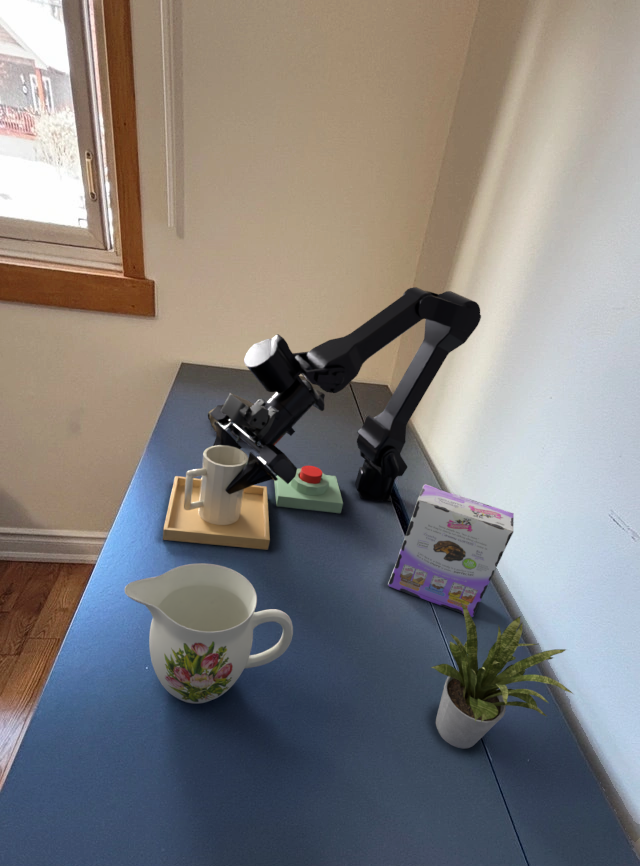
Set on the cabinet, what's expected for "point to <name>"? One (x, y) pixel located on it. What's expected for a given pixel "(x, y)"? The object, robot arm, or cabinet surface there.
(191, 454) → the cabinet surface
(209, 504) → the tall mug
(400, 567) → the candy box
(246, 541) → the stand tray
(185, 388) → the cabinet surface
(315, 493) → the switch base
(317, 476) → the switch button
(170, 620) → the pitcher
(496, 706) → the house plant
